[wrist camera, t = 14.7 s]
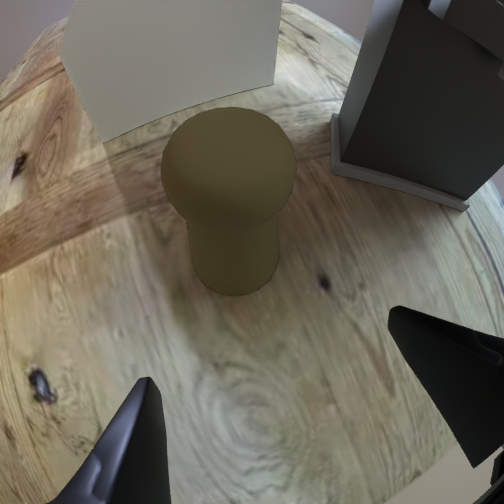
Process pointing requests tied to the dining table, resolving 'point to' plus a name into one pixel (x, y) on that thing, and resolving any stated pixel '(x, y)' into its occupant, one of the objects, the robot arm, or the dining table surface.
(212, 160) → the cork
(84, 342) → the dining table surface
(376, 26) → the coffee maker
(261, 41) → the white house shaped block
